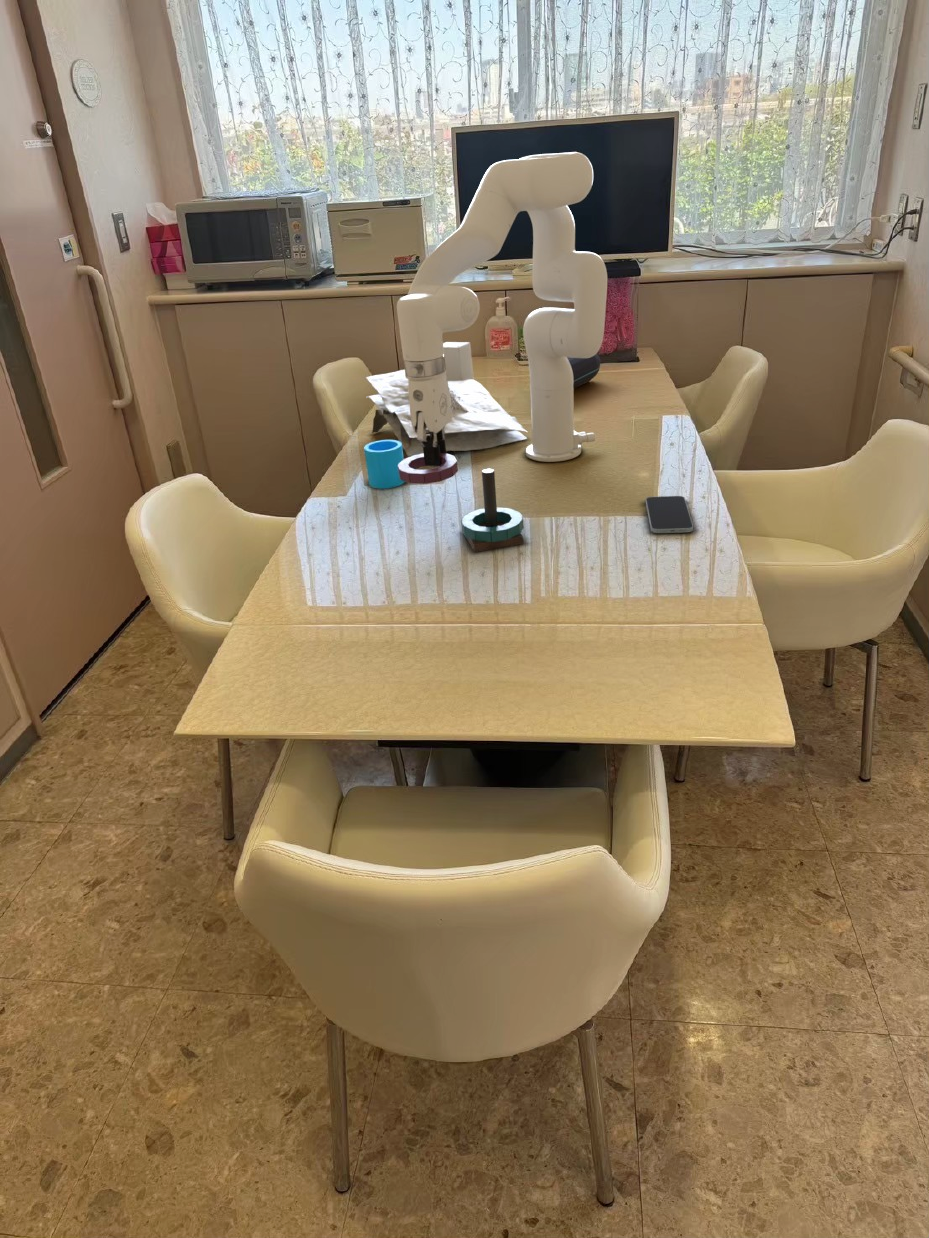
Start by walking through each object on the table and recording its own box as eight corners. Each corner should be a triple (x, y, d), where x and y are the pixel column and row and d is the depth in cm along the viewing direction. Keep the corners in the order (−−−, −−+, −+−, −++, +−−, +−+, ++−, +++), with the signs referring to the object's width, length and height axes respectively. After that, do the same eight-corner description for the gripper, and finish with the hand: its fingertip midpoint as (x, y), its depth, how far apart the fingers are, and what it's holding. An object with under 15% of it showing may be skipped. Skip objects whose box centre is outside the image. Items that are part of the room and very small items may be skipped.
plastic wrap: (534, 410, 195) (408, 421, 183) (525, 472, 204) (405, 485, 193) (476, 357, 220) (362, 364, 208) (470, 414, 229) (361, 423, 218)
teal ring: (514, 513, 157) (513, 503, 156) (529, 536, 147) (529, 525, 146) (457, 522, 155) (456, 512, 154) (469, 545, 146) (468, 535, 145)
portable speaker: (574, 377, 247) (573, 343, 243) (604, 380, 242) (604, 345, 237) (529, 399, 230) (528, 363, 225) (560, 403, 225) (560, 365, 220)
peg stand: (509, 525, 156) (505, 459, 149) (523, 544, 148) (519, 475, 142) (463, 533, 154) (457, 466, 148) (474, 552, 147) (469, 483, 140)
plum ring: (451, 459, 162) (450, 449, 161) (462, 478, 153) (461, 467, 152) (396, 467, 161) (394, 457, 160) (403, 487, 151) (402, 477, 150)
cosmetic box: (476, 398, 236) (472, 342, 228) (463, 404, 231) (459, 347, 224) (451, 396, 240) (447, 340, 232) (439, 402, 236) (433, 346, 228)
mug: (400, 488, 178) (395, 452, 173) (364, 488, 179) (358, 452, 175) (415, 469, 188) (411, 434, 184) (381, 469, 189) (376, 434, 185)
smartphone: (651, 529, 147) (644, 497, 160) (651, 534, 148) (644, 501, 160) (694, 528, 146) (684, 495, 159) (693, 533, 146) (684, 500, 159)
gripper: (428, 379, 143) (440, 479, 153) (458, 355, 156) (467, 448, 165) (388, 379, 146) (402, 477, 155) (421, 355, 158) (432, 448, 168)
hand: (436, 462), depth 160 cm, fingers closed on plum ring, 2 cm apart
